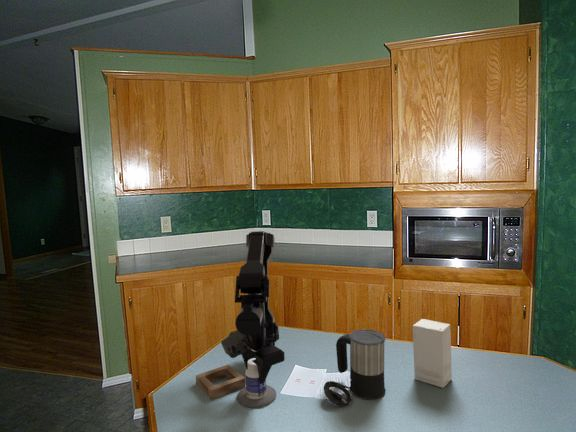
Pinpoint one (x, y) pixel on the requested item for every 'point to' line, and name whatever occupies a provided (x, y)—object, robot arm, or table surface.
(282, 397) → the table surface
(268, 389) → the mat
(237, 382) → the collar block
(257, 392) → the pill bottle
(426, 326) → the skincare box
